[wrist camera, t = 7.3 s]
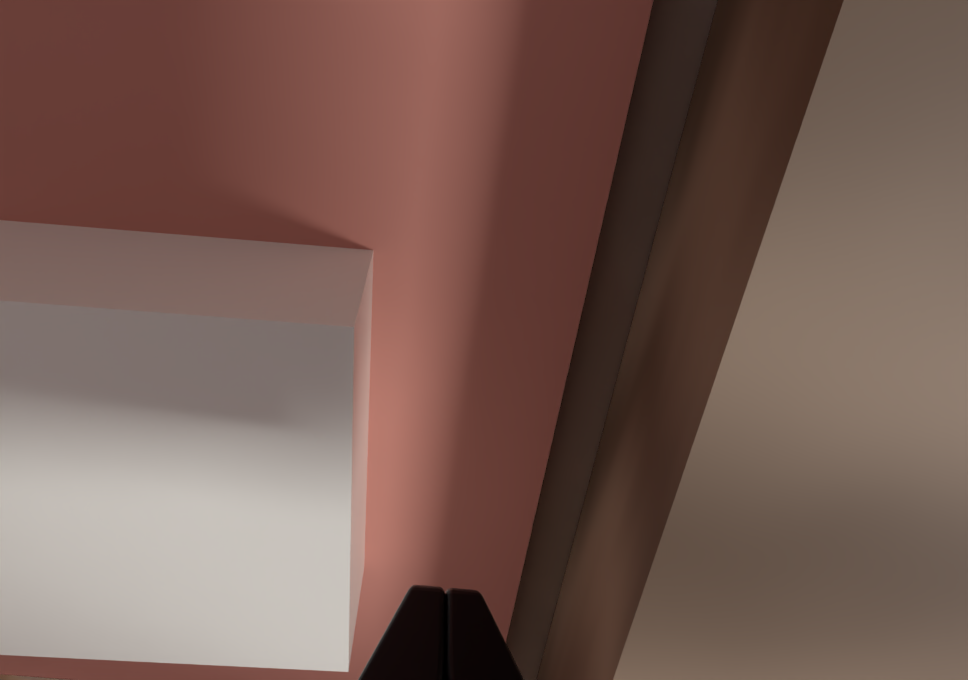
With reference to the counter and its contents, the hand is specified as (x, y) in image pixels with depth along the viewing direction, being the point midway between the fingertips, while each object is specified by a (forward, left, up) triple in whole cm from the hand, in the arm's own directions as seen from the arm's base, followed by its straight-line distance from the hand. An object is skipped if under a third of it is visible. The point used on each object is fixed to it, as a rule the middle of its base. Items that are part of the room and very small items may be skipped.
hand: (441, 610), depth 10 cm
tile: (-1, +4, -4) cm, 6 cm away
